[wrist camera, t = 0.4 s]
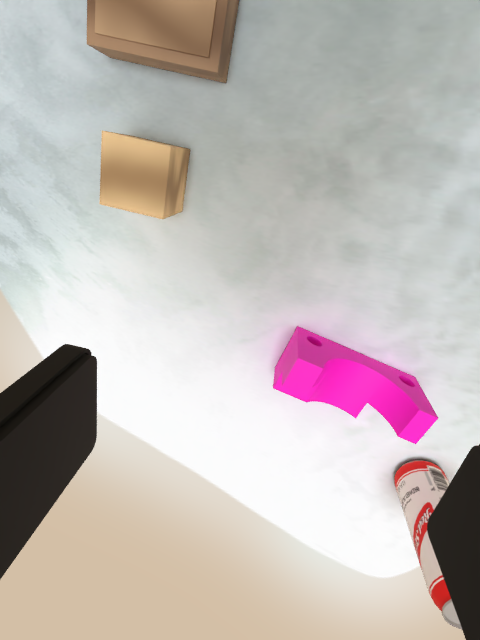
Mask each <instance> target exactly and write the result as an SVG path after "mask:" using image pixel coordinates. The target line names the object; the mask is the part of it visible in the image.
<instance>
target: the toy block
mask: <svg viewBox="0 0 480 640" xmlns="http://www.w3.org/2000/svg"><path fill="white" fill-rule="evenodd" d="M273 388H274V389H276V390H279V391H281V392H283V393H286V394H288V395H291V396H293V397H295V398H298V399H300V400H302V401H305V402H310V401H318V402H324V403H328V404H331V405H334V406H336V407H338V408H340V409H342V410H344V411H346V412H347V413H349V414H351V415H352V416H353V417H355V418H356V417H357V416H358V414H359V413H360V412H361V410H362V409H363V407H364V406H365V405H366V403H369V404H370V405H371V406H372V407H374V408H375V409H376V410H377V411H378V412H379V413H380V414H381V415H382V416H383V417H384V418H385V419H386V420H387V421H388V422H389V423H390V425H391V426H392V427H393V429H394V430H395V432H396V434H397V436H398V437H400V438H403V439H405V440H408V441H410V442H412V443H415V444H416V443H417V442H418V441H419V440H420V439H421V437H422V436H423V435H424V434H425V433H426V432H427V431H428V429H429V428H430V427H431V426H432V425H433V424H434V422H435V421H436V420H437V419H438V417H437V415H436V413H435V411H434V410H433V408H432V406H431V404H430V403H429V401H428V399H427V397H426V396H425V394H424V392H423V390H422V389H421V387H420V385H419V383H418V381H417V380H416V378H415V377H414V376H411V375H409V374H407V373H404V372H402V371H400V370H397V369H395V368H393V367H391V366H388V365H386V364H384V363H381V362H379V361H377V360H374V359H372V358H370V357H368V356H365V355H363V354H361V353H358V352H356V351H354V350H351V349H349V348H347V347H344V346H342V345H340V344H338V343H335V342H333V341H331V340H328V339H326V338H324V337H321V336H319V335H317V334H314V333H312V332H310V331H308V330H305V329H303V328H301V327H298V326H297V328H296V330H295V332H294V334H293V335H292V337H291V339H290V341H289V343H288V345H287V347H286V348H285V350H284V352H283V354H282V356H281V358H280V360H279V361H278V363H277V365H276V367H275V373H274V384H273Z"/></svg>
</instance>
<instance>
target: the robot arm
mask: <svg viewBox="0 0 480 640" xmlns="http://www.w3.org/2000/svg"><path fill="white" fill-rule="evenodd" d="M96 434H97V359H96V357H94V356H91V352H90V350H89V349H86V348H82V347H78V346H73V345H69V344H65V345H63V346H61V347H60V348H59V349H57V350H56V351H55V352H53V353H52V354H51V355H50V356H48V357H47V358H46V359H44V360H43V361H42V362H41V363H39V364H38V365H37V366H35V367H34V368H33V369H31V370H30V371H29V372H27V373H26V374H25V375H24V376H22V377H21V378H20V379H18V380H17V381H16V382H15V383H13V384H12V385H11V386H9V387H8V388H7V389H5V390H4V391H3V392H1V393H0V579H1V578H2V576H3V575H4V573H5V572H6V570H7V569H8V568H9V566H10V565H11V564H12V562H13V561H14V559H15V558H16V557H17V555H18V554H19V552H20V551H21V550H22V548H23V547H24V545H25V544H26V542H27V541H28V540H29V538H30V537H31V535H32V534H33V533H34V531H35V530H36V528H37V527H38V526H39V524H40V523H41V521H42V520H43V519H44V517H45V516H46V514H47V513H48V512H49V510H50V509H51V507H52V506H53V504H54V503H55V502H56V500H57V499H58V498H59V496H60V495H61V493H62V492H63V491H64V489H65V488H66V486H67V485H68V484H69V482H70V481H71V479H72V478H73V476H74V475H75V474H76V472H77V471H78V470H79V468H80V467H81V465H82V464H83V463H84V461H85V460H86V458H87V457H88V456H89V454H90V453H91V451H92V450H93V447H94V445H95V442H96V436H97V435H96ZM427 532H428V536H429V539H430V542H431V545H432V547H433V550H434V553H435V556H436V558H437V561H438V564H439V567H440V569H441V572H442V575H443V578H444V580H445V583H446V586H447V589H448V591H449V594H450V597H451V600H452V602H453V605H454V608H455V611H456V613H457V616H458V619H459V622H460V624H461V627H462V630H463V633H464V635H465V638H466V640H480V445H479V446H474V447H472V449H471V450H470V451H469V453H468V455H467V456H466V458H465V460H464V461H463V463H462V465H461V466H460V468H459V470H458V471H457V473H456V475H455V476H454V478H453V480H452V481H451V483H450V484H449V486H448V488H447V489H446V491H445V493H444V494H443V496H442V498H441V499H440V501H439V503H438V504H437V506H436V508H435V509H434V511H433V513H432V514H431V516H430V517H429V520H428V523H427Z"/></svg>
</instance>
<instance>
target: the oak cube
mask: <svg viewBox="0 0 480 640" xmlns="http://www.w3.org/2000/svg"><path fill="white" fill-rule="evenodd" d="M189 155H190V149H187V148H182V147H178V146H174V145H169V144H165V143H161V142H156V141H152V140H148V139H143V138H139V137H135V136H130V135H124V134H118V133H112V132H107V131H102V145H101V178H100V204H101V205H105V206H110V207H114V208H118V209H122V210H126V211H130V212H135V213H139V214H143V215H147V216H151V217H156V218H160V219H165V218H167V217H170V216H172V215H175V214H177V213H179V212H182V209H183V202H184V194H185V186H186V178H187V171H188V163H189Z"/></svg>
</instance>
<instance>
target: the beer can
mask: <svg viewBox="0 0 480 640" xmlns="http://www.w3.org/2000/svg"><path fill="white" fill-rule="evenodd" d="M448 486H449V482H448V479H447V477H446V475H445V473H444V472H443V470H442V469H441V468H439V467H438V466H437V465H435V464H433V463H431V462H427V461H423V460H413V461H410V462H407V463H405V464H403V465H402V466H401V467H400V468H399V469H398V470H397V472H396V474H395V487H396V490H397V493H398V496H399V499H400V502H401V506H402V509H403V512H404V515H405V518H406V521H407V525H408V528H409V531H410V534H411V537H412V540H413V544H414V547H415V550H416V553H417V556H418V559H419V563H420V566H421V569H422V572H423V575H424V579H425V581H426V585H427V588H428V591H429V593H430V596H431V598H432V599H433V601H434V603H435V604H436V606H437V607H438V608H439V609H440V610H441V611H442V615H443V617H444V619H445V620H446V621H447V622H448V623H449V624H450V625H452V626H454V627H456V628H459V629H462V627H461V624H460V622H459V619H458V616H457V613H456V611H455V608H454V605H453V602H452V600H451V597H450V594H449V591H448V589H447V586H446V583H445V580H444V578H443V575H442V572H441V569H440V567H439V564H438V561H437V558H436V556H435V553H434V550H433V547H432V545H431V542H430V539H429V536H428V532H427V523H428V520H429V517H430V516H431V514H432V513H433V511H434V509H435V508H436V506H437V504H438V503H439V501H440V499H441V498H442V496H443V494H444V493H445V491H446V489H447V488H448Z"/></svg>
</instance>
